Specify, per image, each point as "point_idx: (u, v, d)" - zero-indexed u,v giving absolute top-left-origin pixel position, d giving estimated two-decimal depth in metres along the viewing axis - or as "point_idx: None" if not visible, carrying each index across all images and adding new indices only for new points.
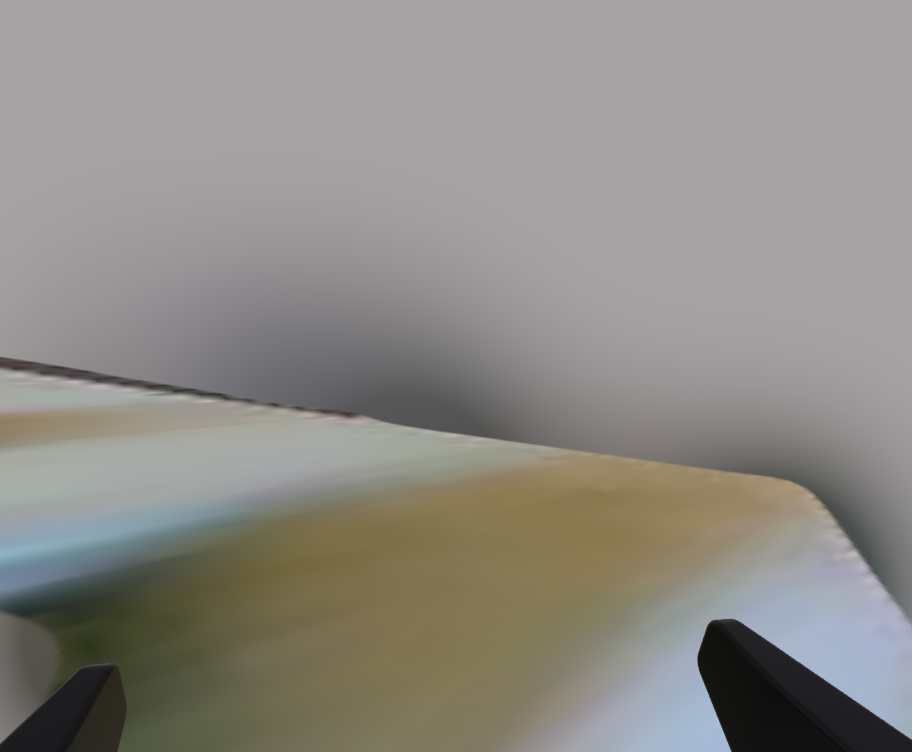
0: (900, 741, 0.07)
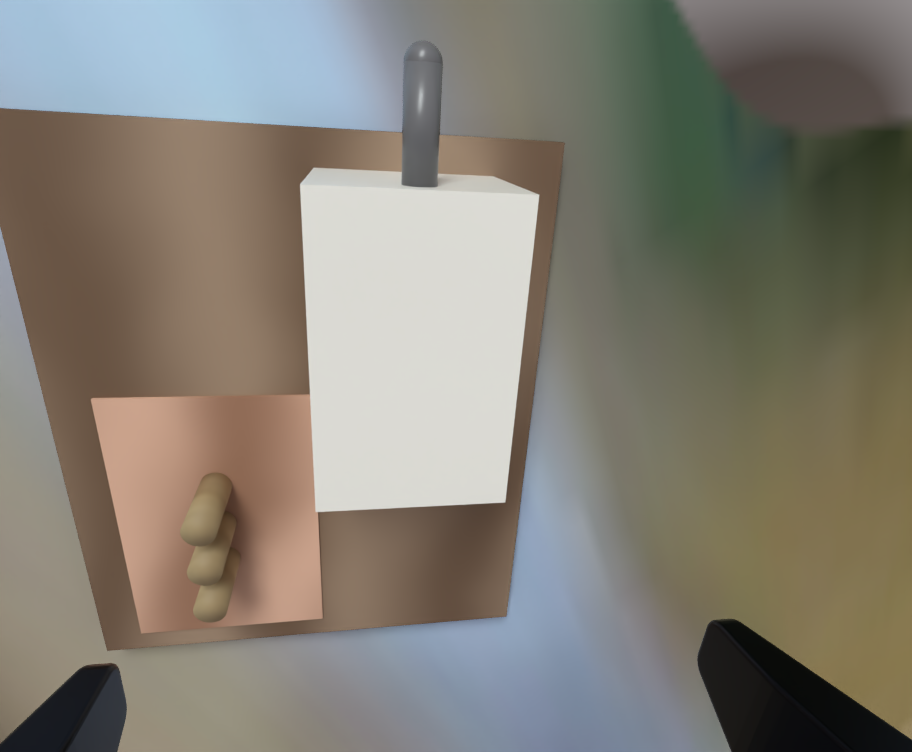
0: (900, 741, 0.07)
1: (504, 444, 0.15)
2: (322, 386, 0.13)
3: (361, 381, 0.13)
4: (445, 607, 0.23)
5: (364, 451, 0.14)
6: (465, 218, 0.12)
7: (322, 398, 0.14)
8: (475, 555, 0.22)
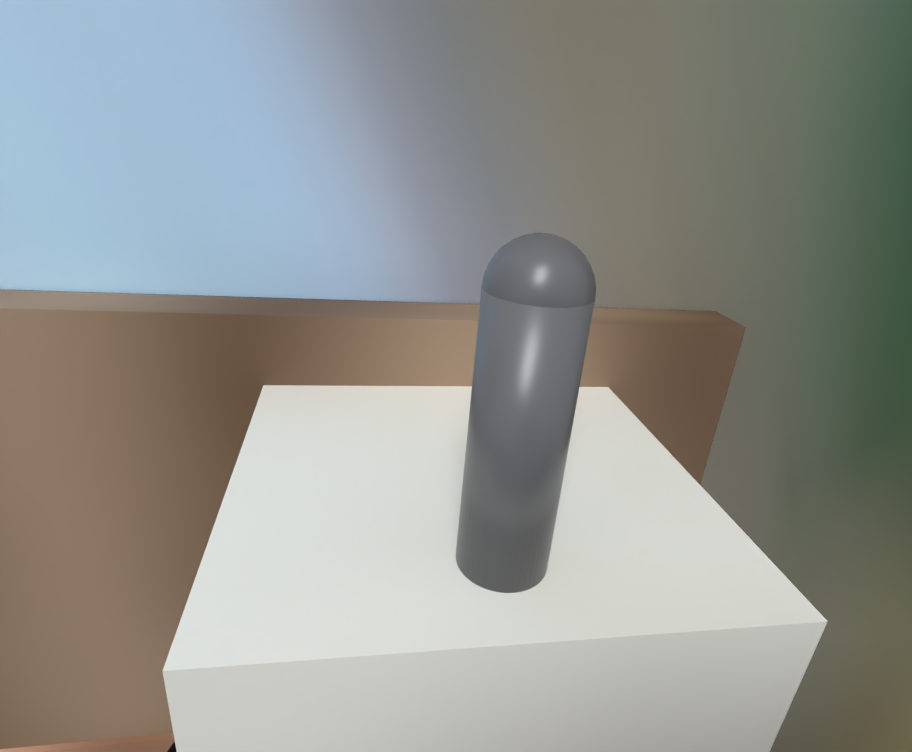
0: None
1: None
2: None
3: None
4: None
5: None
6: (630, 685, 0.05)
7: None
8: None
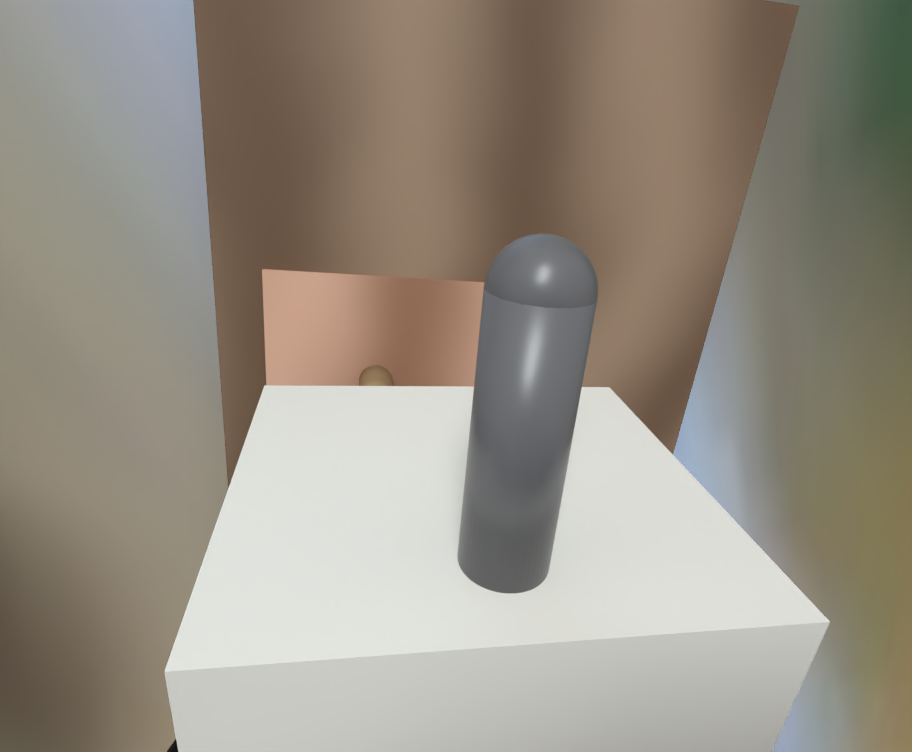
0: None
1: None
2: None
3: None
4: None
5: None
6: (632, 686, 0.05)
7: None
8: None
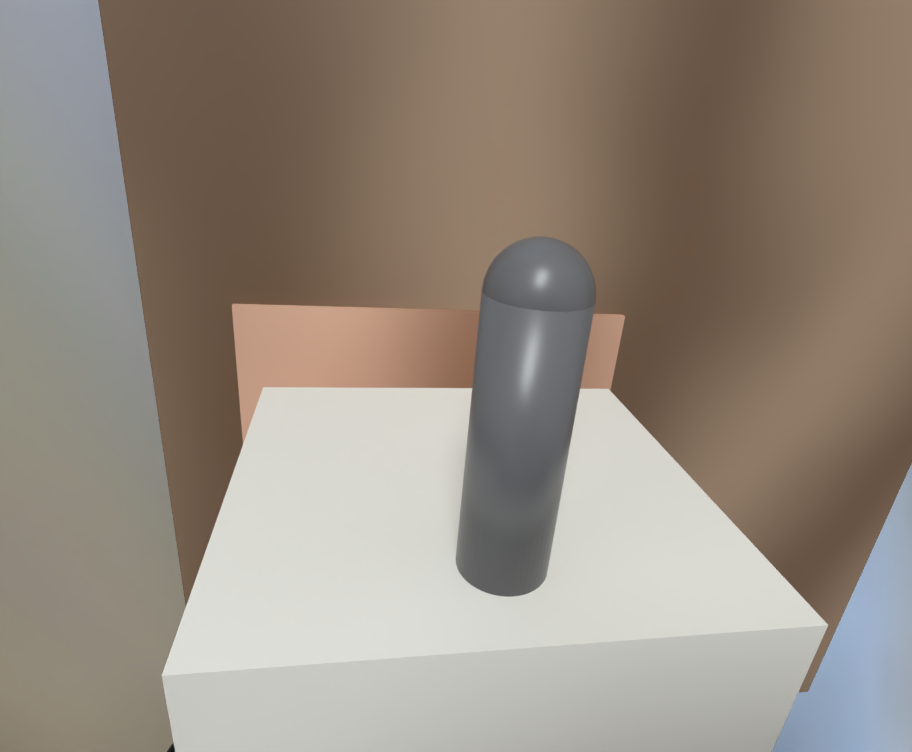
0: None
1: None
2: None
3: None
4: None
5: None
6: (631, 689, 0.05)
7: None
8: None
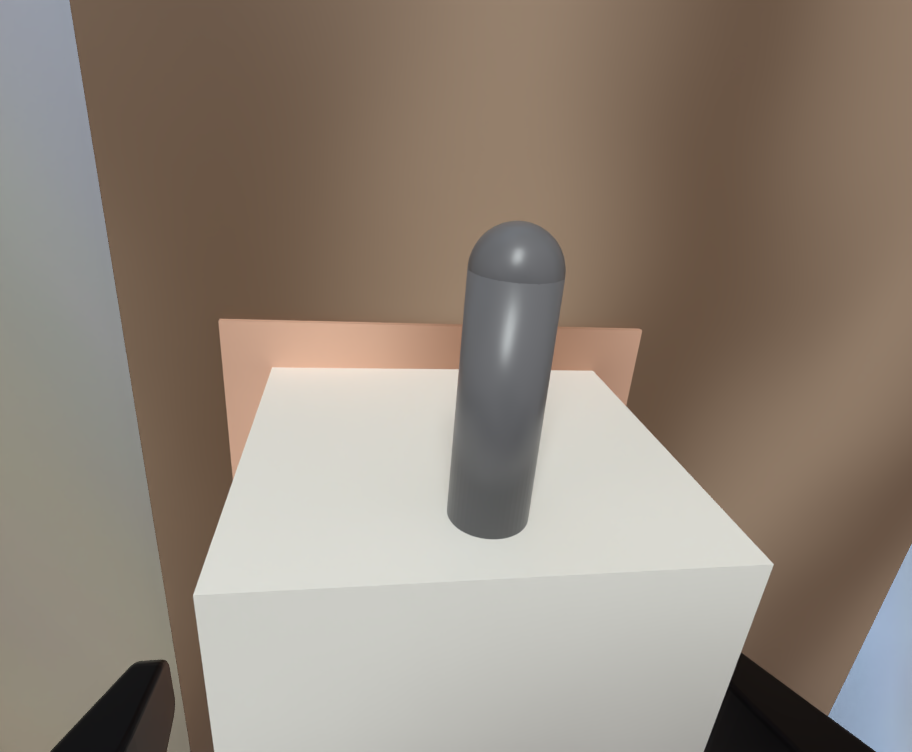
0: (854, 746, 0.07)
1: None
2: None
3: None
4: None
5: None
6: (600, 620, 0.05)
7: None
8: (816, 625, 0.13)
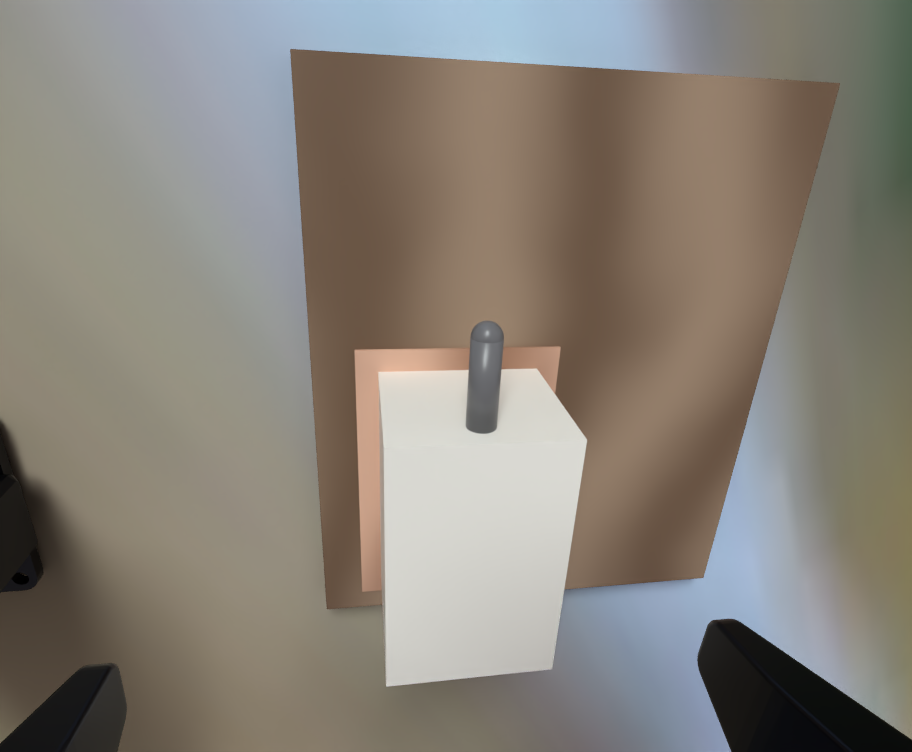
0: (900, 741, 0.07)
1: (552, 625, 0.17)
2: (396, 593, 0.15)
3: (429, 586, 0.15)
4: (648, 567, 0.23)
5: (430, 638, 0.16)
6: (523, 461, 0.14)
7: (395, 601, 0.15)
8: (685, 514, 0.22)
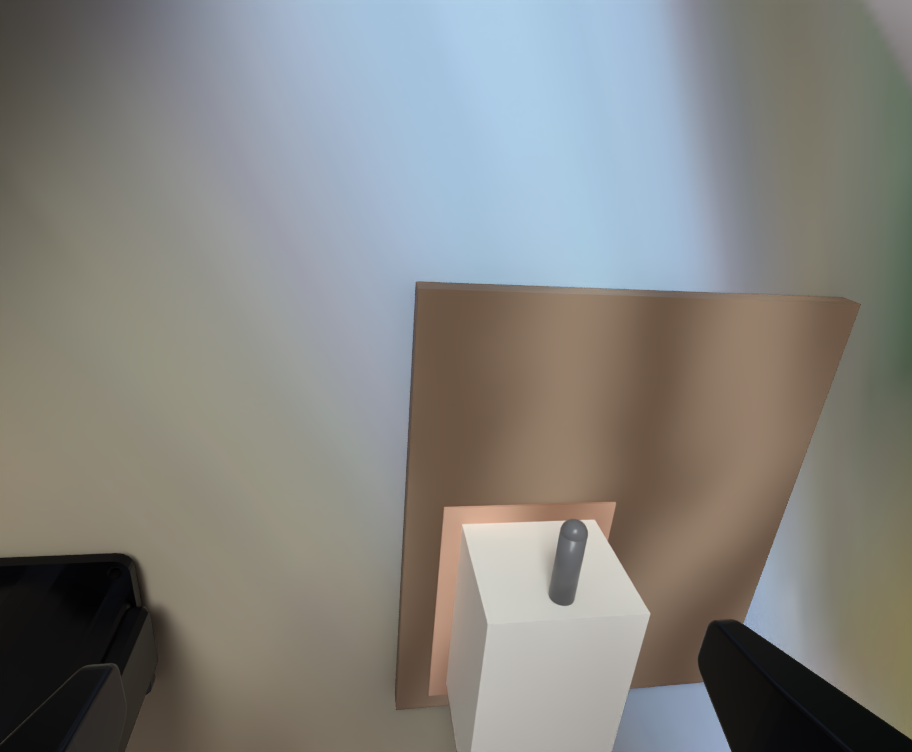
0: (900, 741, 0.07)
1: (606, 750, 0.20)
2: (482, 729, 0.18)
3: (510, 723, 0.18)
4: (675, 672, 0.26)
5: None
6: (597, 630, 0.17)
7: (481, 735, 0.18)
8: None
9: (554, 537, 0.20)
